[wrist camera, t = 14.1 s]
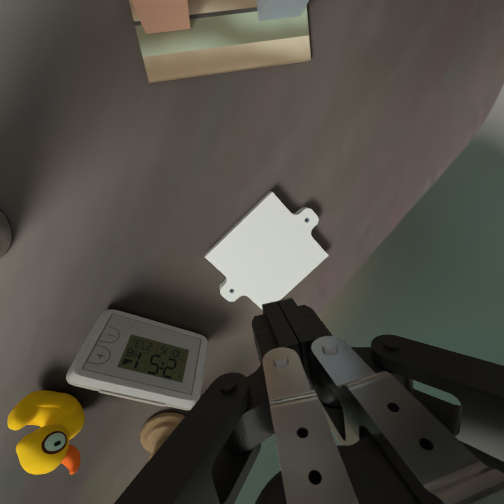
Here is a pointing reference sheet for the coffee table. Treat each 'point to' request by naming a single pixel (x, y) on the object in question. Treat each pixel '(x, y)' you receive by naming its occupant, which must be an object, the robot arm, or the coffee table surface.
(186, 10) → the reddish brown block
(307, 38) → the wooden tray
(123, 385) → the digital clock
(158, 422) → the candle holder
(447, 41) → the coffee table surface
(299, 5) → the grey blue rectangular block
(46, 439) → the duckling
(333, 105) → the coffee table surface
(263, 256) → the mounting plate
